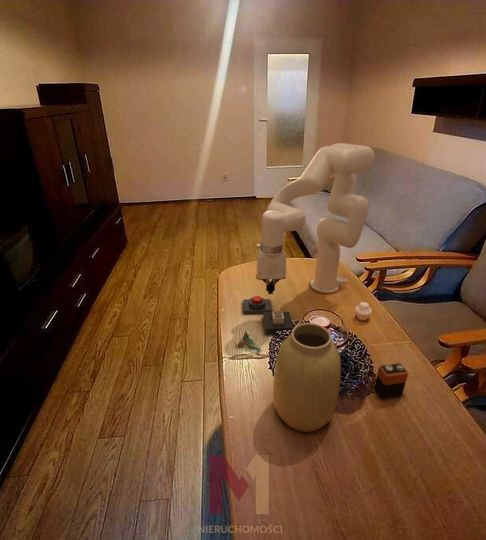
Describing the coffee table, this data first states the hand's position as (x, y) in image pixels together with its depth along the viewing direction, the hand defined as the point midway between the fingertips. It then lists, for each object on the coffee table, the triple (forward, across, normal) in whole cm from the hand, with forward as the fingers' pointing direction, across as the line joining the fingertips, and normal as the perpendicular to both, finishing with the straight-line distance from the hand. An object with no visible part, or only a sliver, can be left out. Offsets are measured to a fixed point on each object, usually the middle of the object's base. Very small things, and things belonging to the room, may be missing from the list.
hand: (270, 292), depth 128 cm
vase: (+13, +5, -42) cm, 44 cm away
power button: (+9, -4, +8) cm, 13 cm away
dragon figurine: (+13, -8, -15) cm, 21 cm away
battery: (+13, +31, -37) cm, 50 cm away
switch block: (+12, -4, +8) cm, 15 cm away
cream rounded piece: (+12, +36, -1) cm, 38 cm away
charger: (+12, +3, -4) cm, 13 cm away
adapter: (+12, +3, -4) cm, 13 cm away
